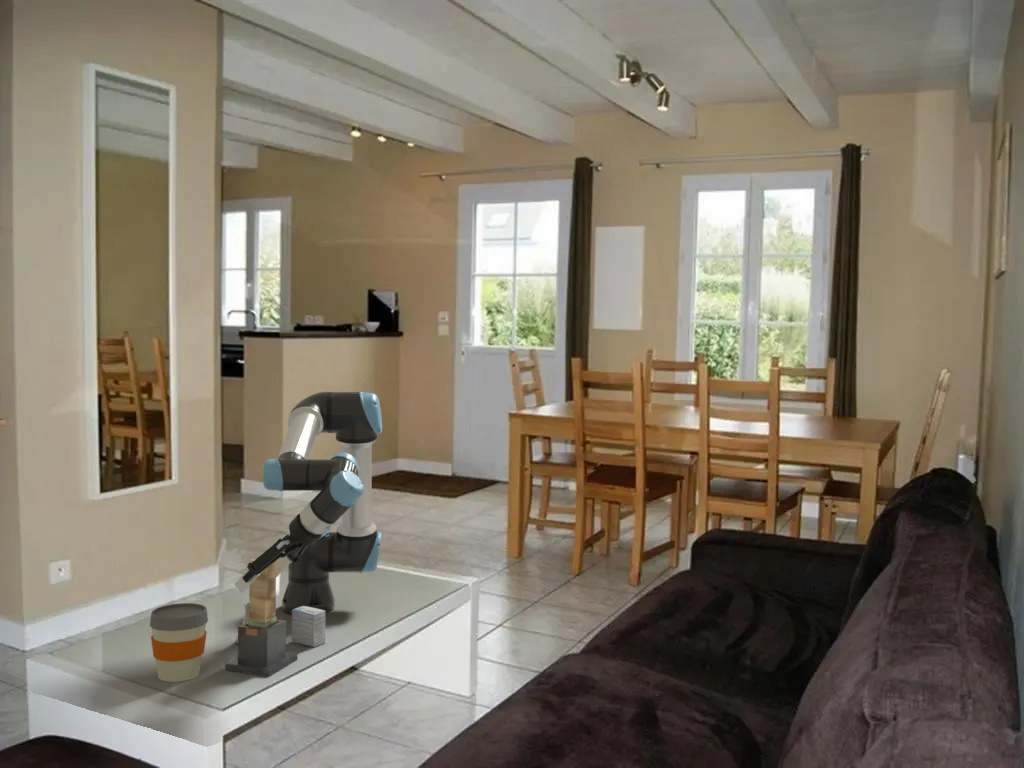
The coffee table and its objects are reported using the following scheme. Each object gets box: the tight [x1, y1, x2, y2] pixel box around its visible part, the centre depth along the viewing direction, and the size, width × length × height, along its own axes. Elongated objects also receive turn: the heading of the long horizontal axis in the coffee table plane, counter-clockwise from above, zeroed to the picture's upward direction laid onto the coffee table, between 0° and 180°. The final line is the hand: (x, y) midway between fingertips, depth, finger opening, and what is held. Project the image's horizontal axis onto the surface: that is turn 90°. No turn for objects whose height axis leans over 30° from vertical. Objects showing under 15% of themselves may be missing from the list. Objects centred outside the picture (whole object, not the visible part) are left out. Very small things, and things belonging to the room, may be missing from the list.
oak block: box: [248, 556, 277, 628], centre depth 212 cm, size 5×5×18 cm
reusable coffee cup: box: [149, 602, 209, 683], centre depth 205 cm, size 12×13×15 cm
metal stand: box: [224, 618, 298, 677], centre depth 212 cm, size 12×12×10 cm
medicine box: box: [291, 606, 326, 648], centre depth 229 cm, size 8×4×9 cm, turn 59°
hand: (255, 581), depth 212 cm, fingers open, 13 cm apart
